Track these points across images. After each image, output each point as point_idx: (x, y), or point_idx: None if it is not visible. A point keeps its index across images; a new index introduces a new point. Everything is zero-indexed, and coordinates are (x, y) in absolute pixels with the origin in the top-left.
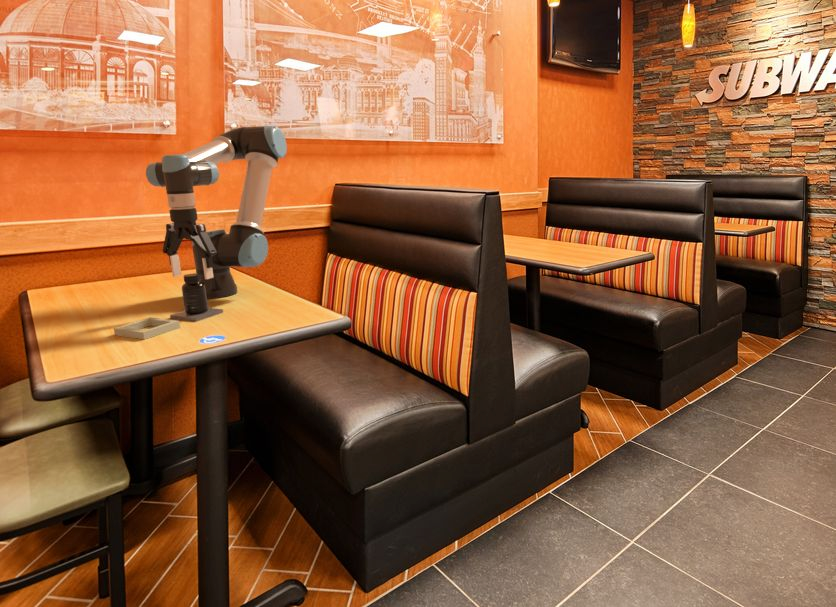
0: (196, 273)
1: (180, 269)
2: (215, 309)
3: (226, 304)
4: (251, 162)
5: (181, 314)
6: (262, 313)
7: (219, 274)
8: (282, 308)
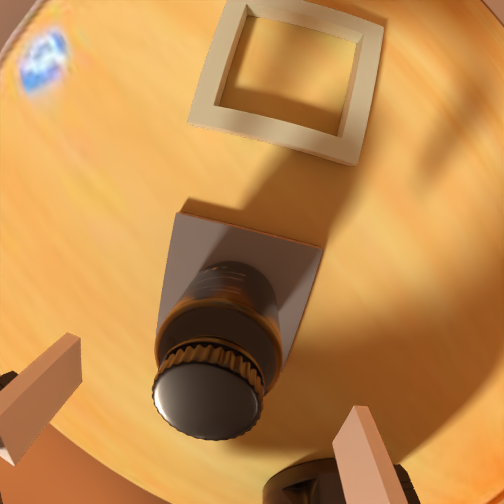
0: (202, 436)
1: (339, 466)
2: None
3: None
4: None
5: (277, 263)
6: (42, 320)
7: None
8: None
